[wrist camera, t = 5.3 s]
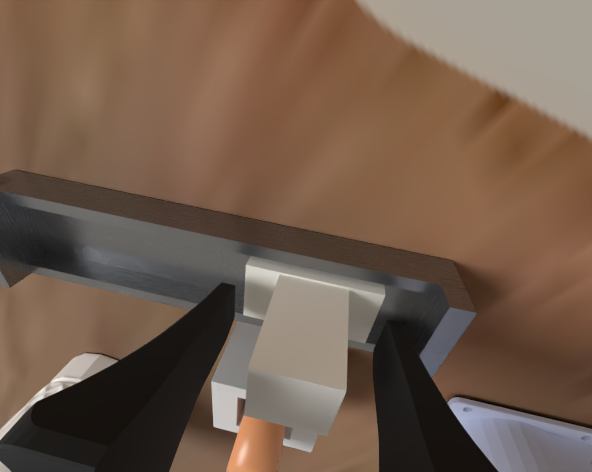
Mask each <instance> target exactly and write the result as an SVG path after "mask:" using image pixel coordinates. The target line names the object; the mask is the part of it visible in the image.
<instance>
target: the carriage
mask: <svg viewBox="0 0 592 472" xmlns="http://www.w3.org/2000/svg"><path fill="white" fill-rule="evenodd" d="M384 298H385V288H384V285H383V284H379V283H374V282H369V281H365V280H360V279H355V278H351V277H346V276H342V275H337V274H332V273H328V272H323V271H319V270H314V269H309V268H305V267H300V266H296V265H291V264H286V263H282V262H277V261H272V260H268V259H263V258H259V257H254V256H250V258H249V260H248V262H247V264H246V272H245V292H244V311H243V315H245V316H249V317H253V318H258V319H262V320H264V322H263V325H262V328H261V330H260V333H259V336H258V339H257V342H256V345H255V348H254V351H253V354H252V357H251V360H250V363H249V366H248V374H247V388H246V401H245V414H244V416H248V417H252V418H256V419H260V420H264V421H268V422H272V423H276V424H279V425H283V426H287V427H291V428H295V429H299V430H303V431H307V432H311V433H315V434H318V435H322V436H326V437H327V435H328V433H329V431H330V428H331V426H332V424H333V421H334V419H335V417H336V415H337V412H338V410H339V408H340V405H341V403H342V401H343V398H344V396H345V394H346V391H347V354H348V340H352V341H357V342H361V343H365V342H366V340H367V338H368V335H369V333H370V331H371V328H372V326H373V324H374V321H375V319H376V316H377V314H378V312H379V309H380V307H381V305H382V302H383V300H384Z"/></svg>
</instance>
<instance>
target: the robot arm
mask: <svg viewBox="0 0 592 472" xmlns="http://www.w3.org/2000/svg"><path fill="white" fill-rule="evenodd" d="M234 318H235V285H232V284H227V283H223V282H222V283H220V284H219V285H218V286H217V287H216V288H215V289H214V290H213V291H211V292H210V293H209V294H208V295H207V296H206V297H205V298H204V299H203V300H202V301H201V302H200V303H198V304H197V305H196V306H195V307H194V308H193V309H191V310H190V311H189V312H188V313H187V314H186V315H184V316H183V317H182V318H181V319H180V320H178V321H177V322H176V323H174V324H173V325H172V326H170V327H169V328H168V329H167V330H165V331H164V332H163V333H161V334H160V335H158V336H157V337H156V338H154V339H153V340H151V341H150V342H148V343H147V344H145V345H144V346H142V347H141V348H139V349H138V350H136V351H134V352H133V353H131V354H129V355H128V356H126V357H125V358H123V359H121V360H120V361H118V362H116V363H114V364H113V365H111V366H109V367H107V368H105V369H103V370H101V371H99V372H98V373H96V374H94V375H92V376H90V377H88V378H86V379H84V380H82V381H80V382H78V383H76V384H74V385H72V386H70V387H68V388H65V389H63V390H61V391H59V392H57V393H55V394H52V395H50V396H48V397H46V398H44V399H41V400H39V401H37V402H36V403H35V404H34V405H33V406H32V407H31V408H29V409H28V410H27V411H26V412H25V413H24V414H23V415H22V417H21V418H20V419H19V420H18V421H17V422H16V423H15V424H14V425H13V427H12V428H11V429H10V430H9V431H8V432H7V433H6V434H5V435H4V436H3V438H2V439H1V440H0V461H1V462H2V463H3V464H4V465H5V466H6V467H7V468H8V469H9V470H10V471H11V472H169V470H170V467H171V465H172V462H173V459H174V457H175V454H176V451H177V448H178V446H179V443H180V441H181V438H182V435H183V433H184V430H185V428H186V425H187V422H188V420H189V417H190V415H191V412H192V410H193V407H194V405H195V402H196V400H197V397H198V395H199V393H200V391H201V389H202V387H203V385H204V383H205V381H206V379H207V377H208V375H209V373H210V371H211V369H212V367H213V365H214V363H215V361H216V359H217V357H218V355H219V353H220V351H221V349H222V347H223V345H224V343H225V341H226V339H227V337H228V334H229V331H230V329H231V326H232V323H233V320H234ZM373 381H374V392H375V402H376V413H377V423H378V435H379V472H592V429H591V428H586V427H582V426H578V425H574V424H570V423H565V422H561V421H557V420H553V419H549V418H545V417H540V416H536V415H532V414H528V413H524V412H519V411H515V410H511V409H507V408H503V407H499V406H494V405H490V404H486V403H482V402H478V401H474V400H469V399H465V398H461V397H454V398H452V399H450V400H449V402H448V403H447V402H446V401H445V399H444V398H443V396H442V394H441V393H440V391H439V390H438V388H437V386H436V385H435V383H434V381H433V380H432V378H431V376H430V374H429V373H428V371H427V369H426V367H425V366H424V364H423V362H422V360H421V358H420V356H419V355H418V353H417V351H416V349H415V347H414V345H413V343H412V341H411V339H410V337H409V335H408V333H407V331H406V329H405V327H404V325H403V324H402V323H401V322H396V321H392V320H387V321H386V324H385V326H384V328H383V330H382V332H381V334H380V337H379V339H378V341H377V343H376V345H375V347H374V350H373Z"/></svg>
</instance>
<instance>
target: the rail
mask: <svg viewBox="0 0 592 472" xmlns="http://www.w3.org/2000/svg"><path fill="white" fill-rule="evenodd" d="M250 256H254V257H259V258H263V259H268V260H272V261H277V262H282V263H286V264H291V265H296V266H300V267H305V268H309V269H314V270H319V271H323V272H328V273H332V274H337V275H342V276H346V277H351V278H355V279H360V280H365V281H369V282H374V283H379V284H383V285H384V288H385V298H384V300H383V302H382V305H381V307H380V309H379V312H378V314H377V316H376V319H375V321H374V324H373V326H372V328H371V331H370V333H369V335H368V338H367V340H366V342H365V343H361V342H357V341H352V340H348V347H351V348H356V349H360V350H364V351H368V352H373V350H374V347H375V345H376V343H377V341H378V339H379V337H380V334H381V332H382V330H383V328H384V326H385V324H386V321H387V320H392V321H396V322H401V323H402V324H403V325H404V327H405V329H406V331H407V333H408V335H409V337H410V339H411V341H412V343H413V345H414V347H415V349H416V351H417V353H418V355H419V356H420V358H421V360H422V362H423V364H424V366H425V367H426V369H427V371H428V373H429V374H430V376H431V378H432V377H433V375H434V374H435V373H436V371H437V370H438V368H439V367H440V366H441V364H442V363H443V361H444V360H445V358H446V357H447V356H448V354H449V353H450V351H451V350H452V348H453V347H454V346H455V344H456V343H457V341H458V340H459V339H460V337H461V336H462V334H463V333H464V331H465V330H466V329H467V327H468V326H469V324H470V323H471V322H472V320H473V319H474V317H475V316H476V314H477V311H476V309H475V307H474V305H473V303H472V301H471V299H470V296H469V294H468V292H467V290H466V288H465V286H464V284H463V281H462V279H461V277H460V275H459V273H458V271H457V269H456V267H455V264H454V262H453V261H452V260H447V259H442V258H438V257H433V256H428V255H423V254H418V253H413V252H409V251H404V250H399V249H394V248H389V247H385V246H380V245H375V244H370V243H365V242H361V241H356V240H351V239H346V238H341V237H336V236H332V235H327V234H322V233H317V232H312V231H308V230H303V229H298V228H293V227H288V226H284V225H279V224H274V223H269V222H264V221H259V220H255V219H250V218H245V217H240V216H235V215H231V214H226V213H221V212H216V211H211V210H207V209H202V208H197V207H192V206H187V205H182V204H178V203H173V202H168V201H163V200H158V199H154V198H149V197H144V196H139V195H134V194H129V193H125V192H120V191H115V190H110V189H105V188H101V187H96V186H91V185H86V184H81V183H77V182H72V181H67V180H62V179H57V178H52V177H48V176H43V175H38V174H33V173H28V172H24V171H19V170H12V171H9V172H6V173H3V174H0V286H5V287H9V288H10V287H12V286H13V285H15V284H16V283H18V282H19V281H21V280H22V279H24V278H25V277H26V276H28V275H29V274H31V273H35V274H39V275H43V276H47V277H52V278H56V279H60V280H64V281H69V282H73V283H77V284H82V285H86V286H90V287H94V288H99V289H103V290H107V291H112V292H116V293H120V294H124V295H129V296H133V297H137V298H142V299H146V300H150V301H154V302H159V303H163V304H167V305H172V306H176V307H180V308H184V309H189V310H191V309H193V308H194V307H195V306H196V305H197V304H198V303H200V302H201V301H202V300H203V299H204V298H205V297H206V296H207V295H208V294H209V293H210V292H211V291H213V290H214V289H215V288H216V287H217V286H218V285H219V284H220V283H222V282H223V283H227V284H232V285H235V318H234V320H236V321H240V322H244V323H249V324H253V325H257V326H261V327H262V325H263V322H264V320H262V319H258V318H253V317H249V316H245V315H243V311H244V292H245V272H246V264H247V262H248V260H249V258H250Z"/></svg>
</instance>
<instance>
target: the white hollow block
mask: <svg viewBox="0 0 592 472" xmlns="http://www.w3.org/2000/svg"><path fill="white" fill-rule="evenodd" d="M261 328H262V327H261V326H257V325H253V324H249V323H244V322H240V321H237V324H236V326H235V328H234V331H233V333H232V335H231V337H230V340H229V342H228V344H227V347H226V349H225V351H224V354H223V356H222V358H221V360H220V363H219V365H218V367H217V370H216V372H215V374H214V376H213V379H212V381H211V384H212V405H213V426H214V427H216V428H220V429H224V430H227V431H231V432H235V433H238V431H239V428H240V424H241V421H242V418H243V415H244V411H245V401H246V388H247V374H248V366H249V363H250V360H251V357H252V354H253V351H254V348H255V345H256V342H257V339H258V336H259V333H260V330H261ZM317 436H318V434H315V433H311V432H307V431H303V430H299V429H295V428H291V427H287V426H286V429H285V435H284V440H283V445H285V446H289V447H293V448H296V449H300V450H304V451H308V452H312V449H313V447H314V444H315V441H316V439H317Z"/></svg>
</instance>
